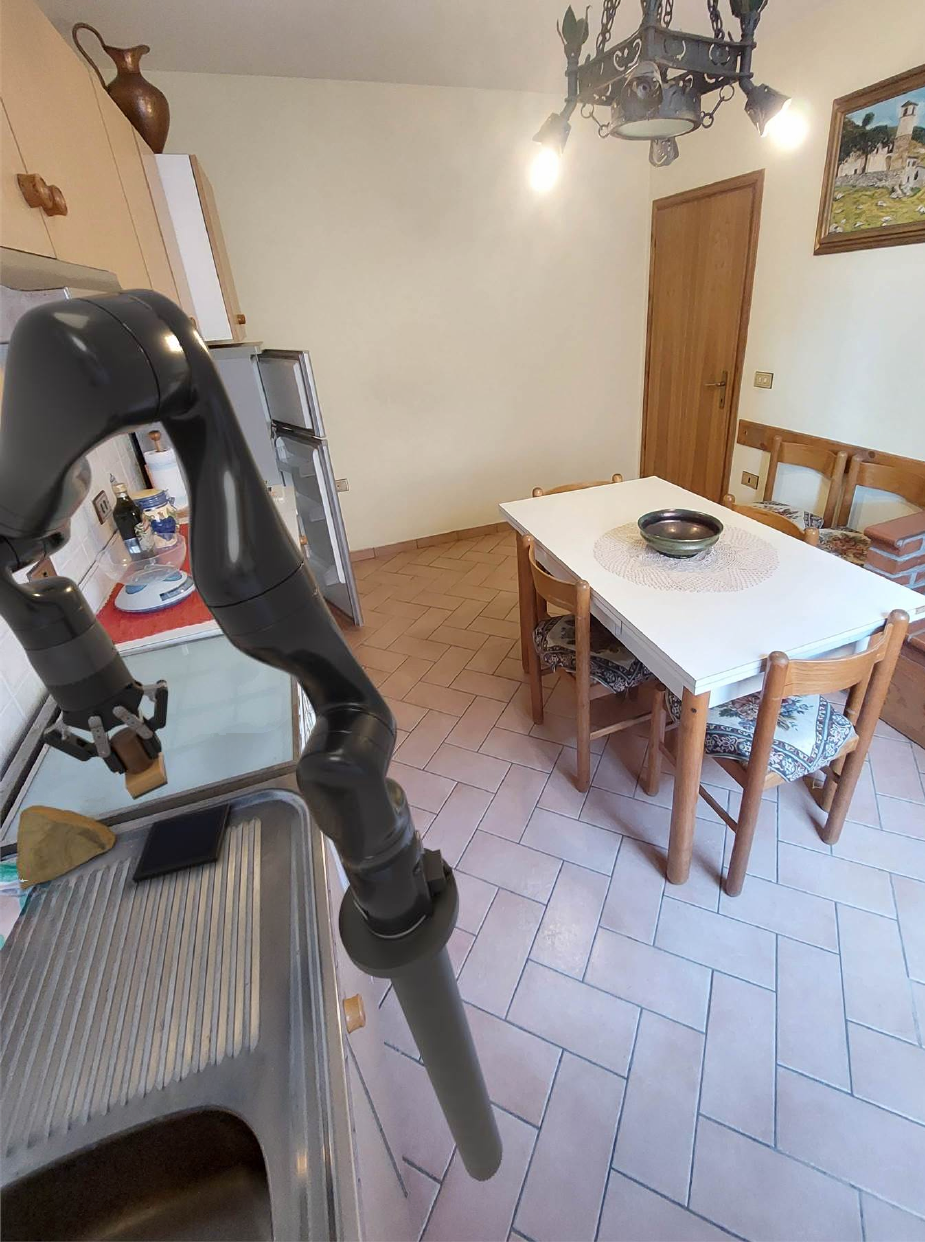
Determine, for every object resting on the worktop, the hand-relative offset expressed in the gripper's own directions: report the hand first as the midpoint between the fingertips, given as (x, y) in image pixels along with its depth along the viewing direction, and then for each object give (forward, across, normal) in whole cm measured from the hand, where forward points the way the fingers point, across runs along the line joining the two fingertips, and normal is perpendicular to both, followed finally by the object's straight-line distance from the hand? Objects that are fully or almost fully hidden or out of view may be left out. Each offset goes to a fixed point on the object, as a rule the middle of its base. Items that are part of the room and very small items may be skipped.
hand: (139, 761), depth 73 cm
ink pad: (+17, 0, 0) cm, 17 cm away
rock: (+17, -14, +7) cm, 24 cm away
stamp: (+3, 0, 0) cm, 3 cm away
